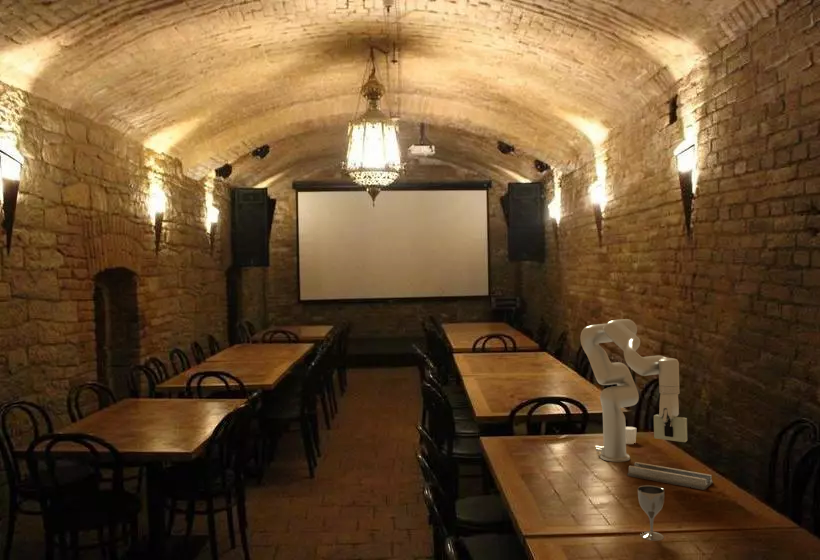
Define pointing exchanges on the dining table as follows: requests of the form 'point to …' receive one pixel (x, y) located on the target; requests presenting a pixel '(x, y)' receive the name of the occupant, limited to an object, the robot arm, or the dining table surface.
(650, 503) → the wine glass
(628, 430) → the shot glass
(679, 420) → the door panel
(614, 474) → the dining table surface
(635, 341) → the robot arm
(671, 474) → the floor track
